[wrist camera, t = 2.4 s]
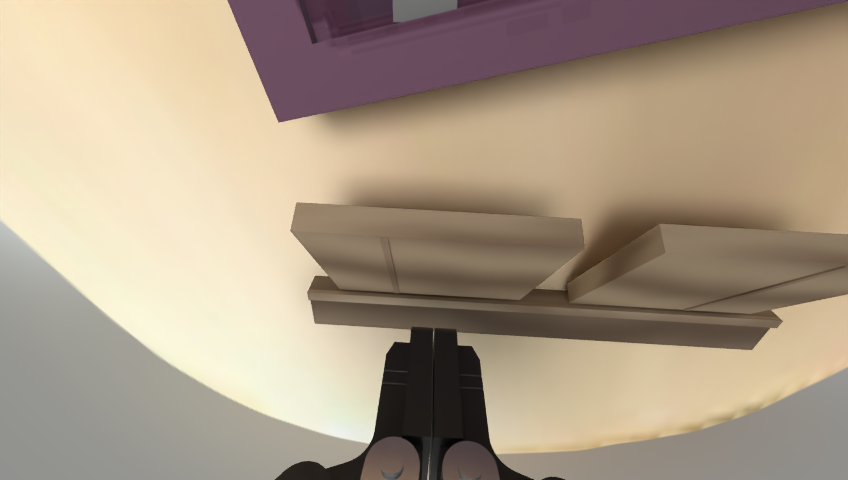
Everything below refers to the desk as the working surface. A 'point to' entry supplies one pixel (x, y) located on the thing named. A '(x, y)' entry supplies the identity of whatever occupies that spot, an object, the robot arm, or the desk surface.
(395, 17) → the purple gear tray
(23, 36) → the desk surface
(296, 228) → the plank
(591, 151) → the desk surface
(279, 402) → the desk surface
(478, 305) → the strip
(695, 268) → the plank
